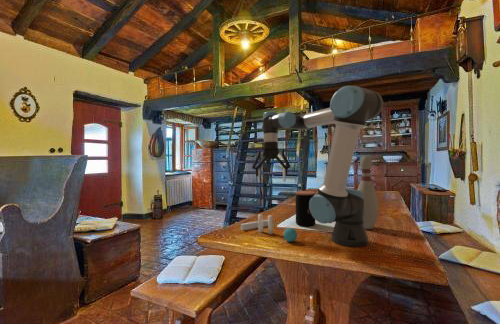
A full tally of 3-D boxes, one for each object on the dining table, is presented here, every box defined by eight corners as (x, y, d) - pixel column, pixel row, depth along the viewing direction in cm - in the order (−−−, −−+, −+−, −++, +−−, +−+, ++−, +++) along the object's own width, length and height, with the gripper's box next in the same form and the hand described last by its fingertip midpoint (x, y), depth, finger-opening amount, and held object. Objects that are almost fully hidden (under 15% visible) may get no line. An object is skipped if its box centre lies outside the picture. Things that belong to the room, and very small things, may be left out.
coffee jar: (310, 228, 137) (310, 194, 137) (292, 225, 144) (292, 192, 143) (318, 223, 146) (318, 191, 145) (301, 221, 152) (300, 190, 152)
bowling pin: (373, 225, 141) (373, 155, 140) (382, 231, 130) (381, 155, 129) (352, 225, 142) (351, 155, 142) (358, 231, 131) (358, 155, 130)
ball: (300, 242, 115) (299, 228, 115) (289, 244, 112) (289, 230, 112) (291, 238, 120) (291, 225, 120) (280, 240, 117) (280, 227, 117)
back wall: (271, 225, 143) (270, 220, 143) (242, 230, 134) (242, 224, 134) (268, 224, 145) (268, 219, 145) (240, 229, 136) (240, 223, 136)
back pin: (263, 231, 131) (263, 214, 131) (260, 232, 130) (259, 215, 130) (261, 230, 133) (261, 214, 133) (257, 231, 132) (257, 214, 132)
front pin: (273, 233, 128) (273, 216, 128) (269, 234, 127) (269, 216, 127) (271, 232, 130) (270, 215, 130) (267, 233, 129) (266, 215, 129)
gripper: (291, 141, 143) (292, 180, 143) (246, 142, 140) (247, 182, 140) (295, 140, 135) (296, 181, 135) (247, 141, 133) (248, 183, 133)
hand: (271, 181), depth 138 cm, fingers open, 13 cm apart
